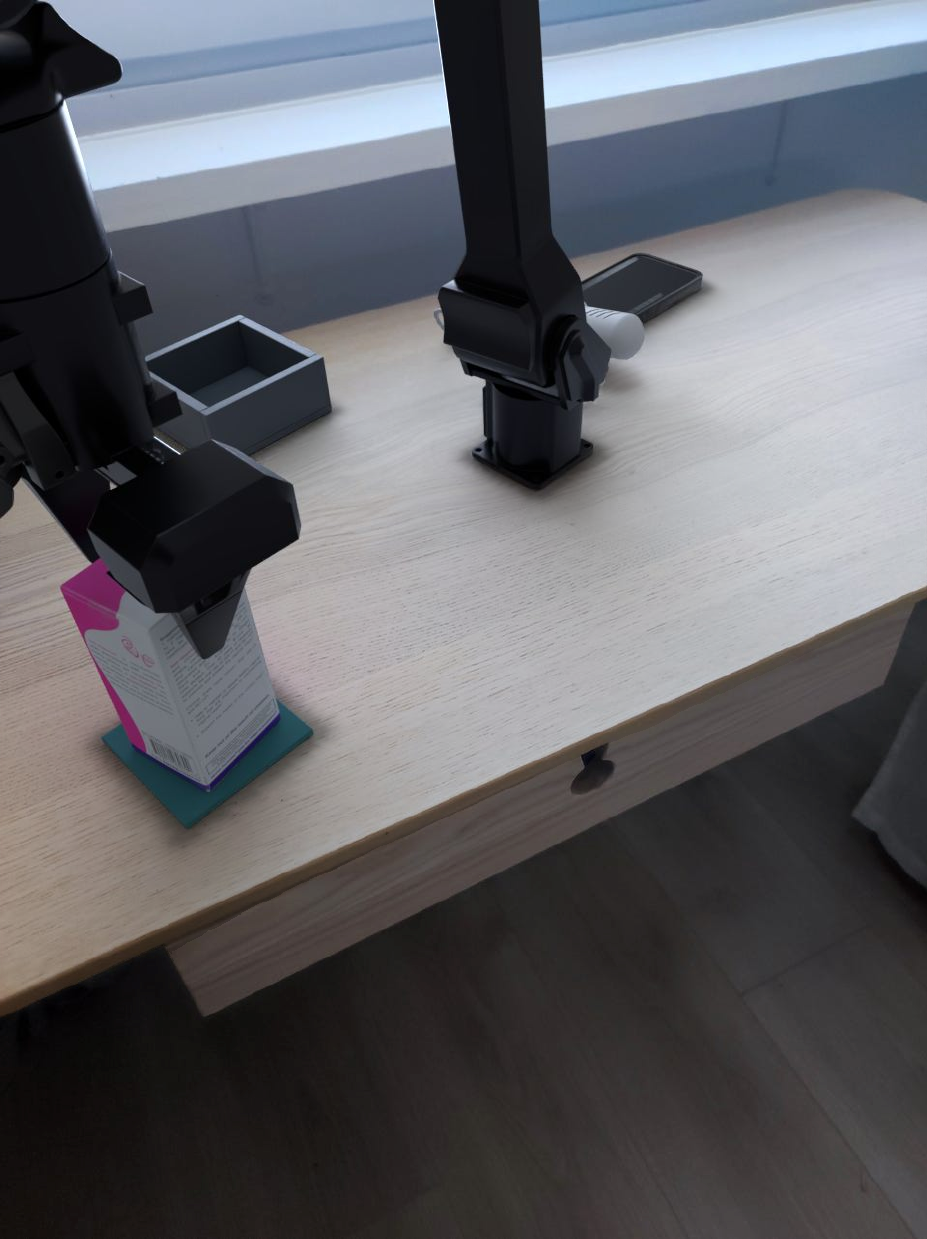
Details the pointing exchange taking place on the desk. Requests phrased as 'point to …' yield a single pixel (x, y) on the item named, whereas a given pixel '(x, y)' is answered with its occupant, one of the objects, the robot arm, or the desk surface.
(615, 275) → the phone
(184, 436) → the grey open box
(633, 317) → the clip-on lamp
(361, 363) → the desk surface
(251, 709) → the supplement box
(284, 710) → the counter mat
